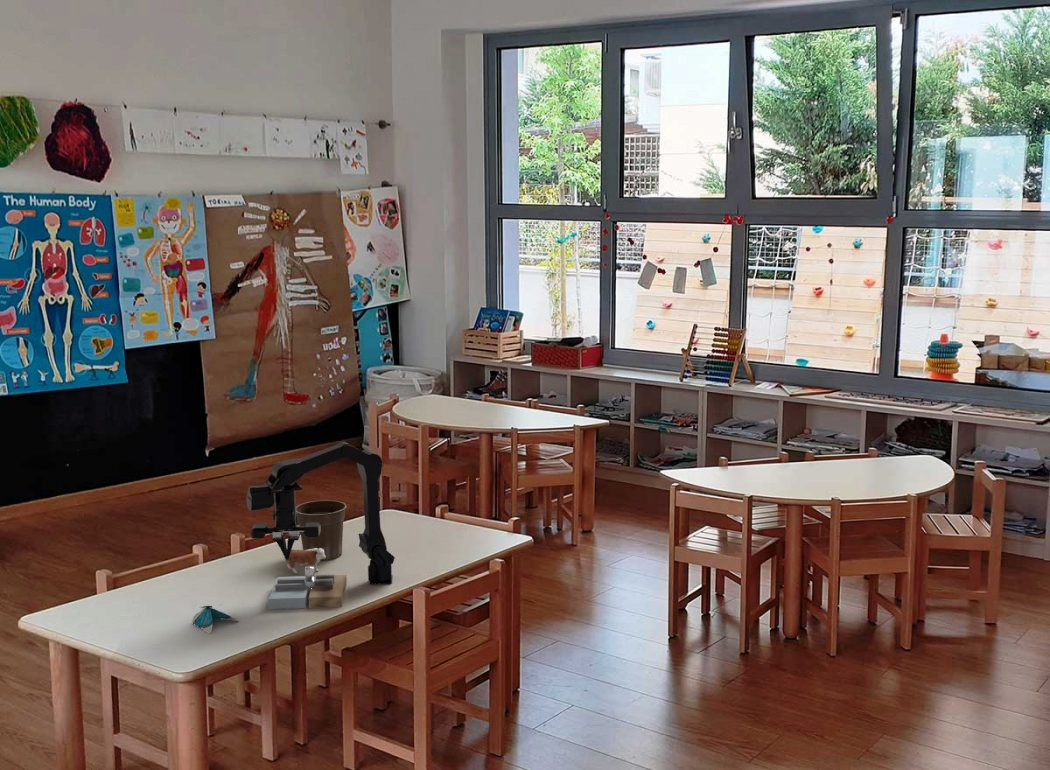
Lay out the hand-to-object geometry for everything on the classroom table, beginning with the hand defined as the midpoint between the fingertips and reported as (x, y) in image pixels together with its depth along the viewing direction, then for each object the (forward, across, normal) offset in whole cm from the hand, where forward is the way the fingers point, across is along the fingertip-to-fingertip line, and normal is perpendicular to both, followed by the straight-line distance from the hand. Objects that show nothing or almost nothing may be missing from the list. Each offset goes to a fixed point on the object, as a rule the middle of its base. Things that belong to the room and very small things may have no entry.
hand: (287, 559), depth 308 cm
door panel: (+11, -1, 0) cm, 11 cm away
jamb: (+11, -11, 0) cm, 16 cm away
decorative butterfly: (+12, +18, +18) cm, 28 cm away
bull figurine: (+12, -3, -21) cm, 24 cm away
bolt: (+8, -9, 0) cm, 12 cm away
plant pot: (+12, -6, -37) cm, 39 cm away
